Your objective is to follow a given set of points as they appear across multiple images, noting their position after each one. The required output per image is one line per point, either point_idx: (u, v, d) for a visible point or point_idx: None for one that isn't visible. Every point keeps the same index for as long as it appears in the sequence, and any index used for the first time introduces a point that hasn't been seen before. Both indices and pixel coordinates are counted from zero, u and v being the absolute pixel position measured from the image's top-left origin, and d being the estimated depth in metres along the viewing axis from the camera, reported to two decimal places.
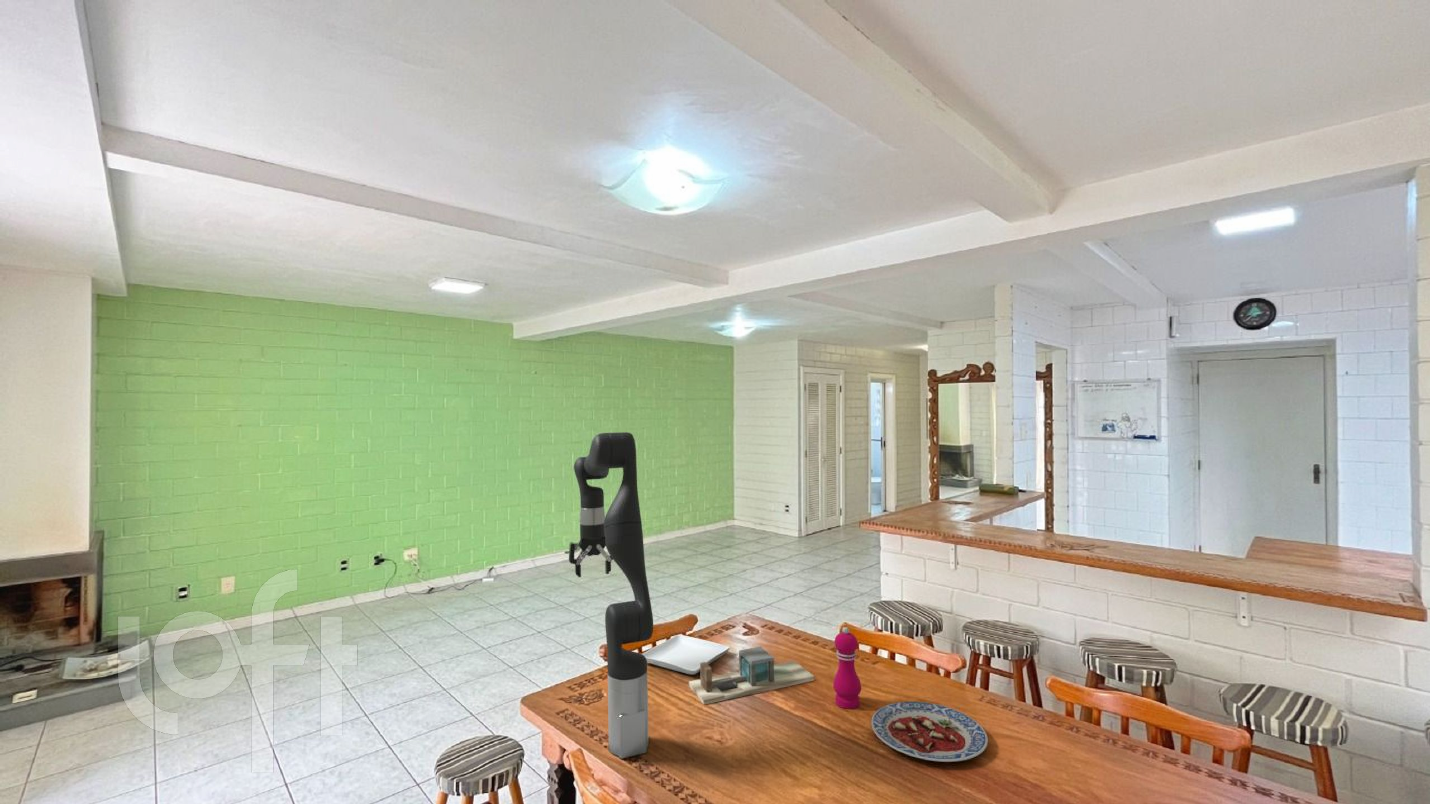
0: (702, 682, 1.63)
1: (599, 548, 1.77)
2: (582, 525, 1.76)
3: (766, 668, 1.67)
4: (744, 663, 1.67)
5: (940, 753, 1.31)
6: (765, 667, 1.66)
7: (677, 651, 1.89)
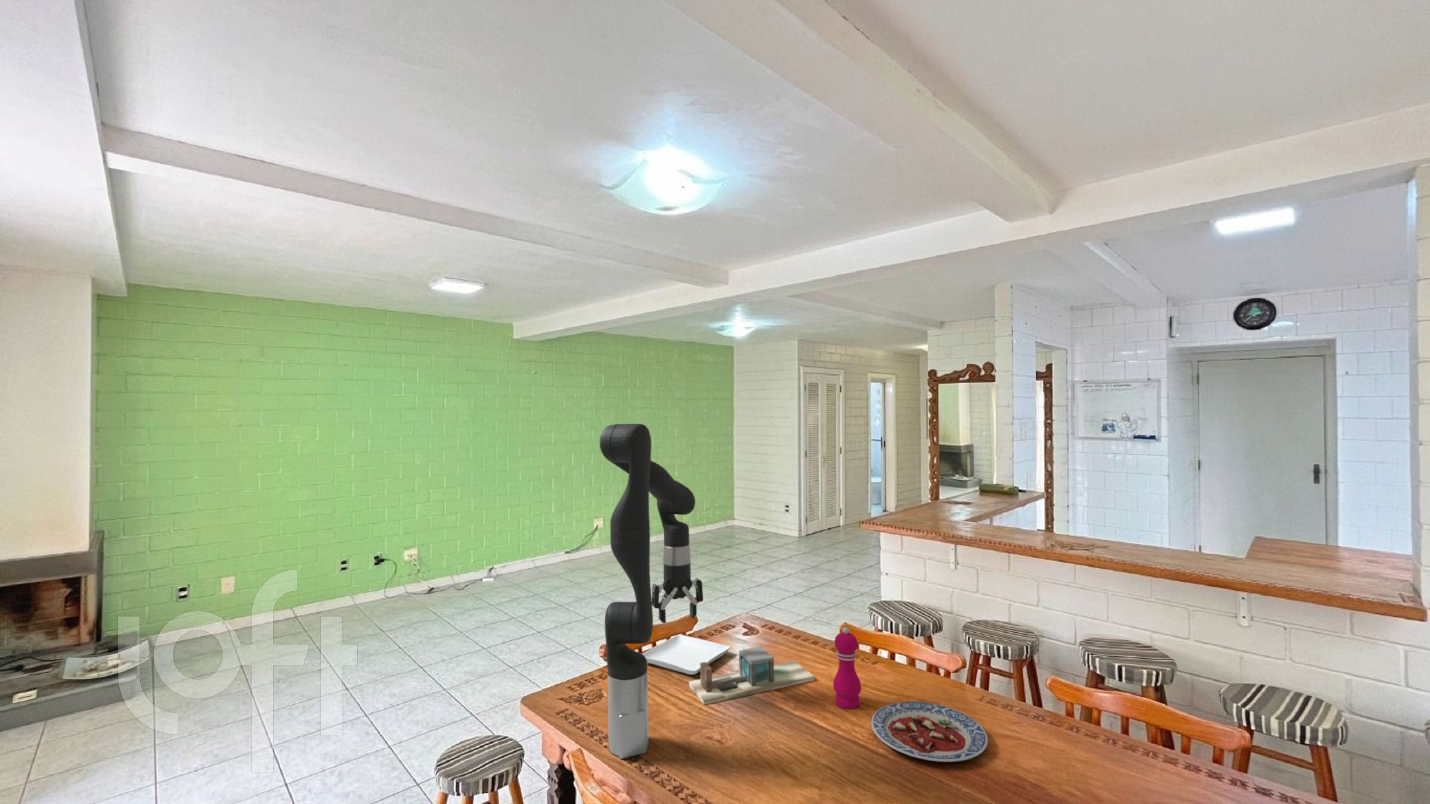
0: (702, 682, 1.63)
1: (685, 590, 1.61)
2: (667, 565, 1.59)
3: (766, 668, 1.67)
4: (744, 663, 1.67)
5: (940, 753, 1.31)
6: (765, 667, 1.66)
7: (677, 651, 1.89)
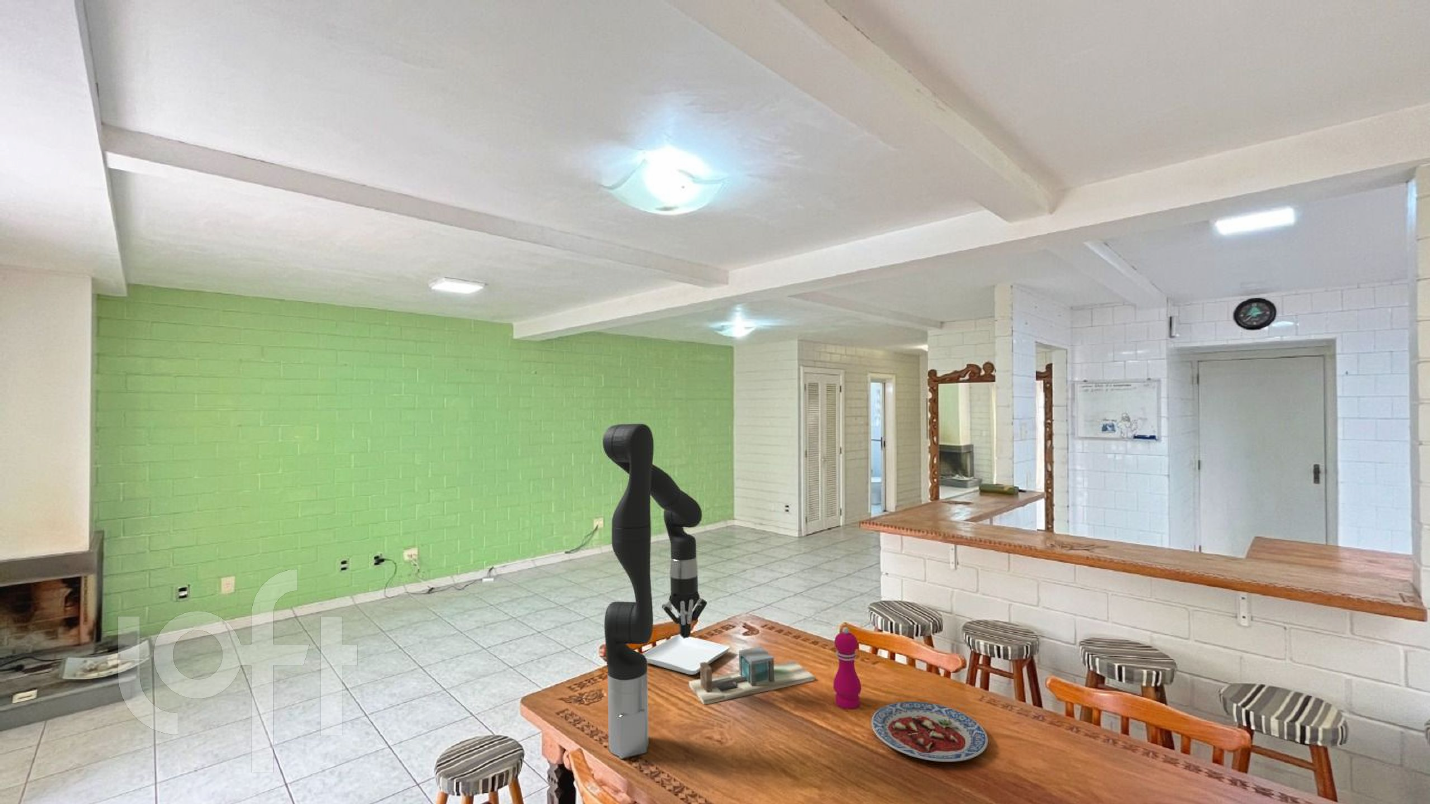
0: (702, 682, 1.63)
1: (690, 604, 1.59)
2: (674, 578, 1.58)
3: (766, 668, 1.67)
4: (744, 663, 1.67)
5: (940, 753, 1.31)
6: (765, 667, 1.66)
7: (677, 651, 1.89)
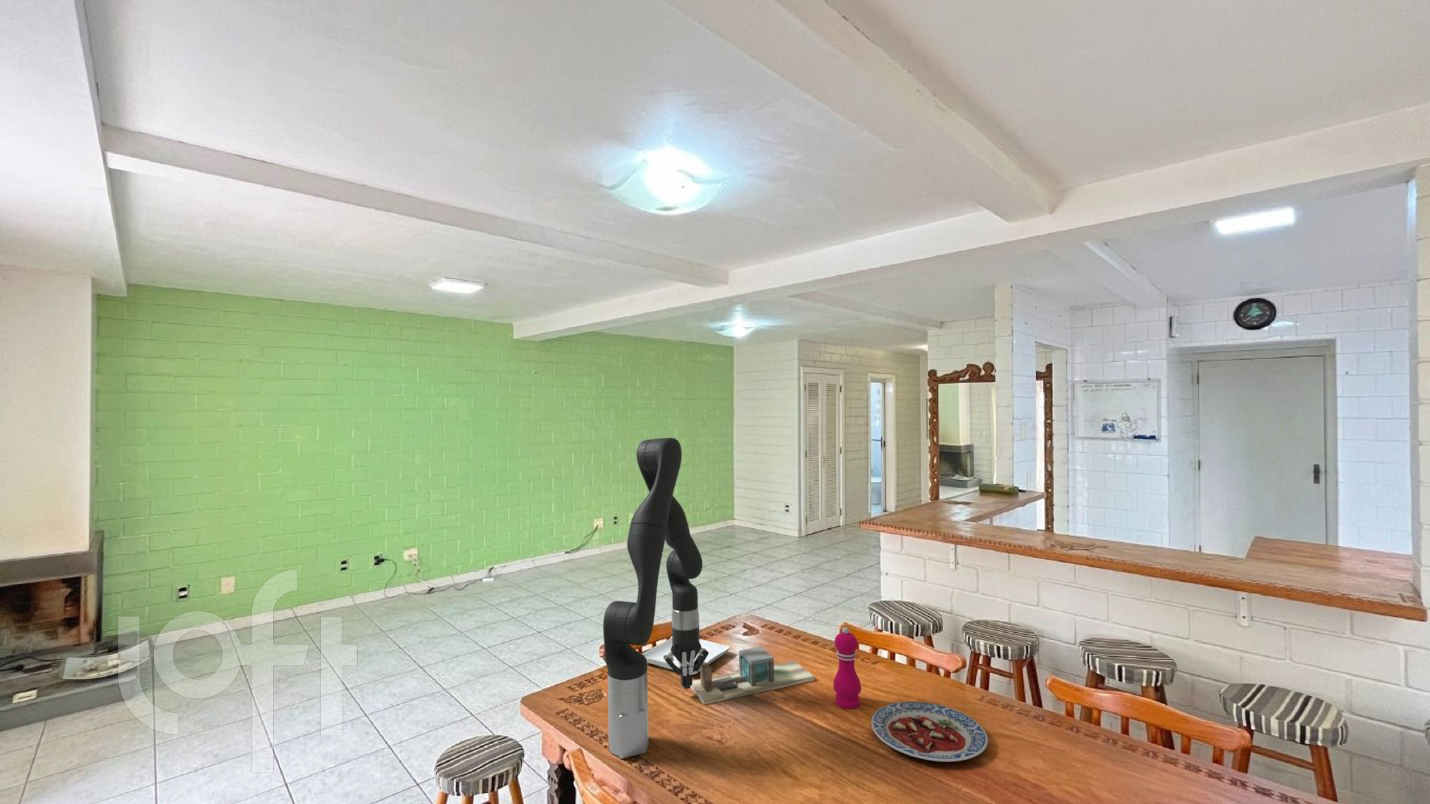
0: (702, 682, 1.63)
1: (692, 655, 1.59)
2: (676, 630, 1.58)
3: (766, 668, 1.67)
4: (744, 663, 1.67)
5: (940, 753, 1.31)
6: (765, 667, 1.66)
7: None
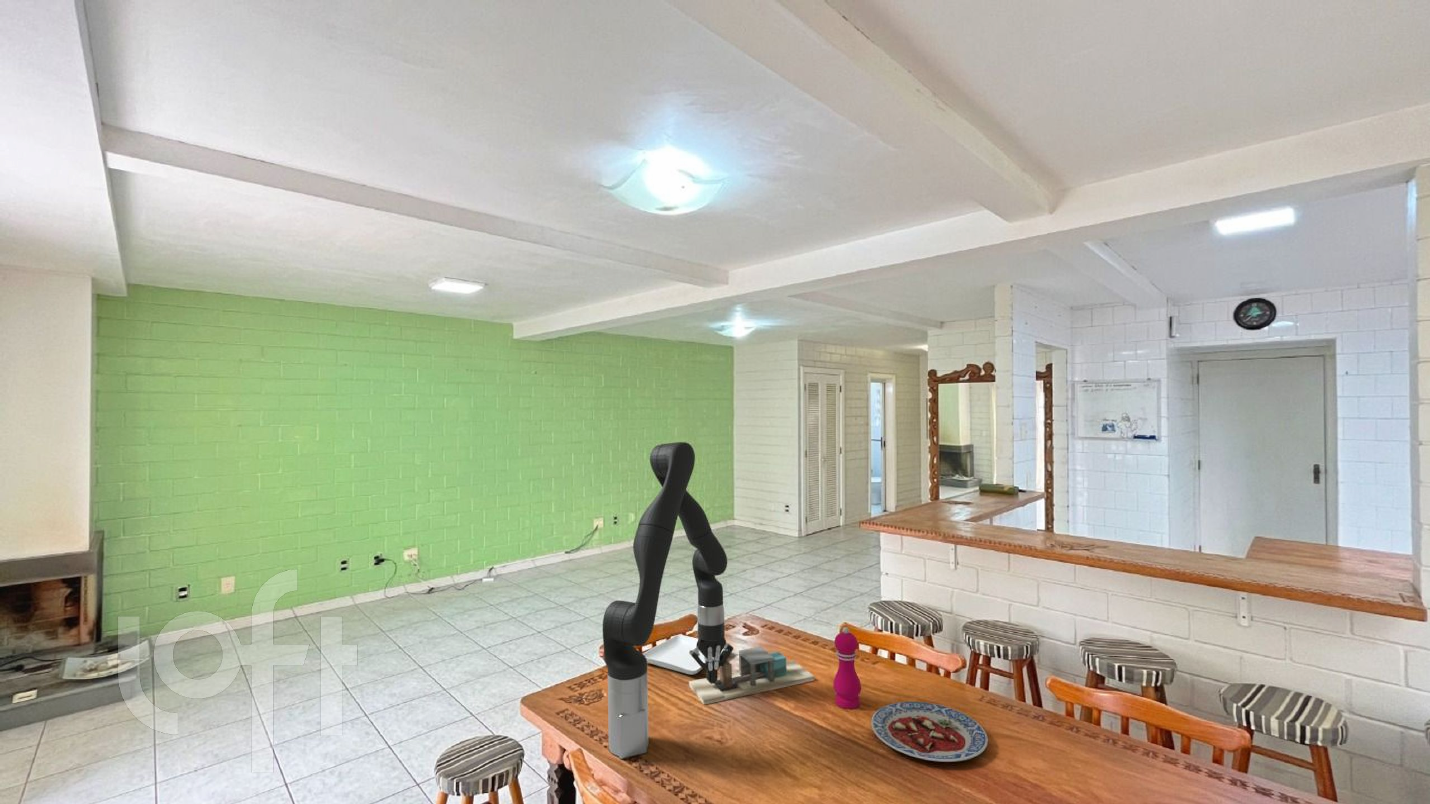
0: (722, 678, 1.65)
1: (717, 650, 1.62)
2: (702, 625, 1.60)
3: (784, 664, 1.69)
4: None
5: (940, 753, 1.31)
6: (784, 663, 1.69)
7: (677, 651, 1.89)
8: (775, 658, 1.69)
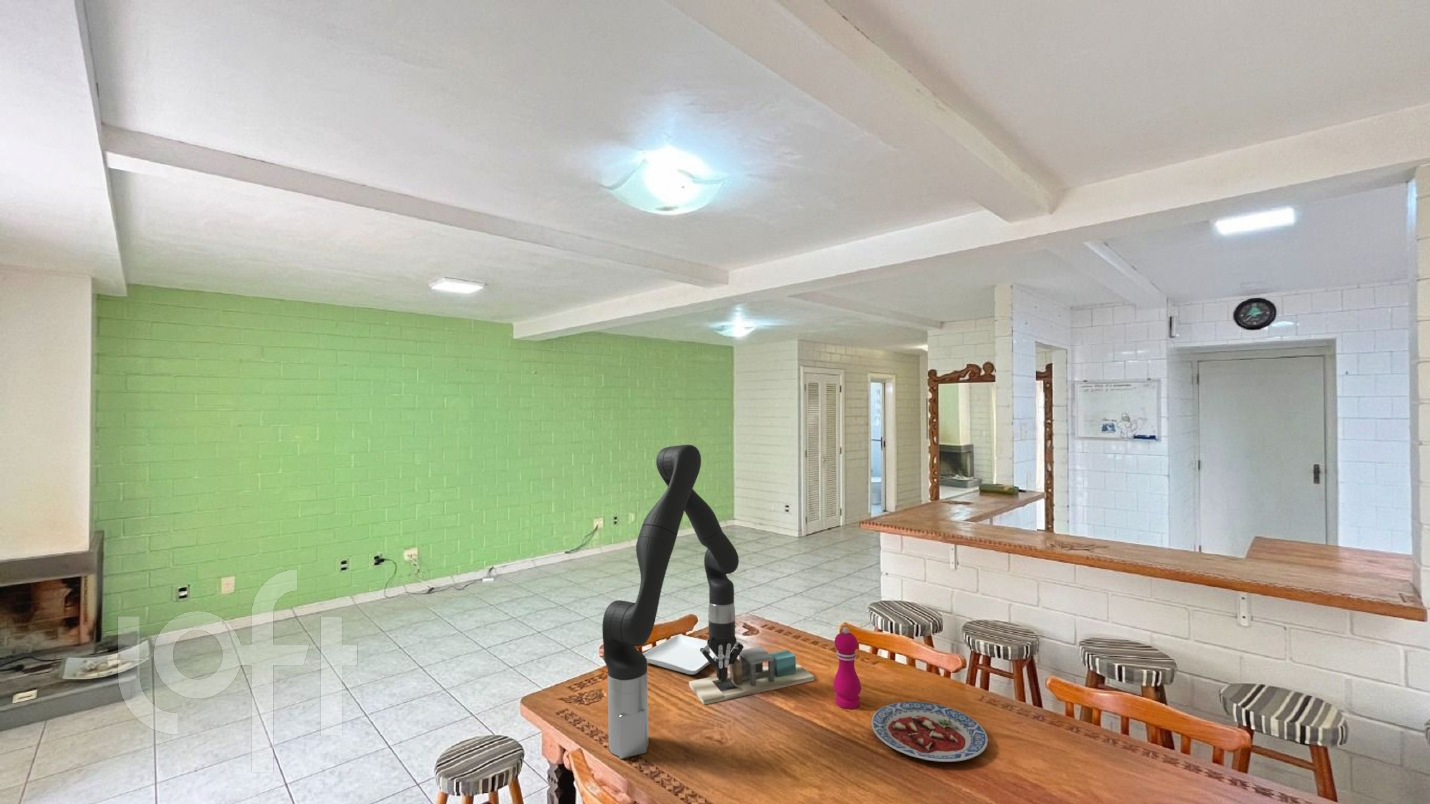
0: (732, 676, 1.66)
1: (728, 648, 1.63)
2: (713, 623, 1.62)
3: (794, 662, 1.70)
4: None
5: (940, 753, 1.31)
6: (793, 661, 1.70)
7: (677, 651, 1.89)
8: (784, 656, 1.70)
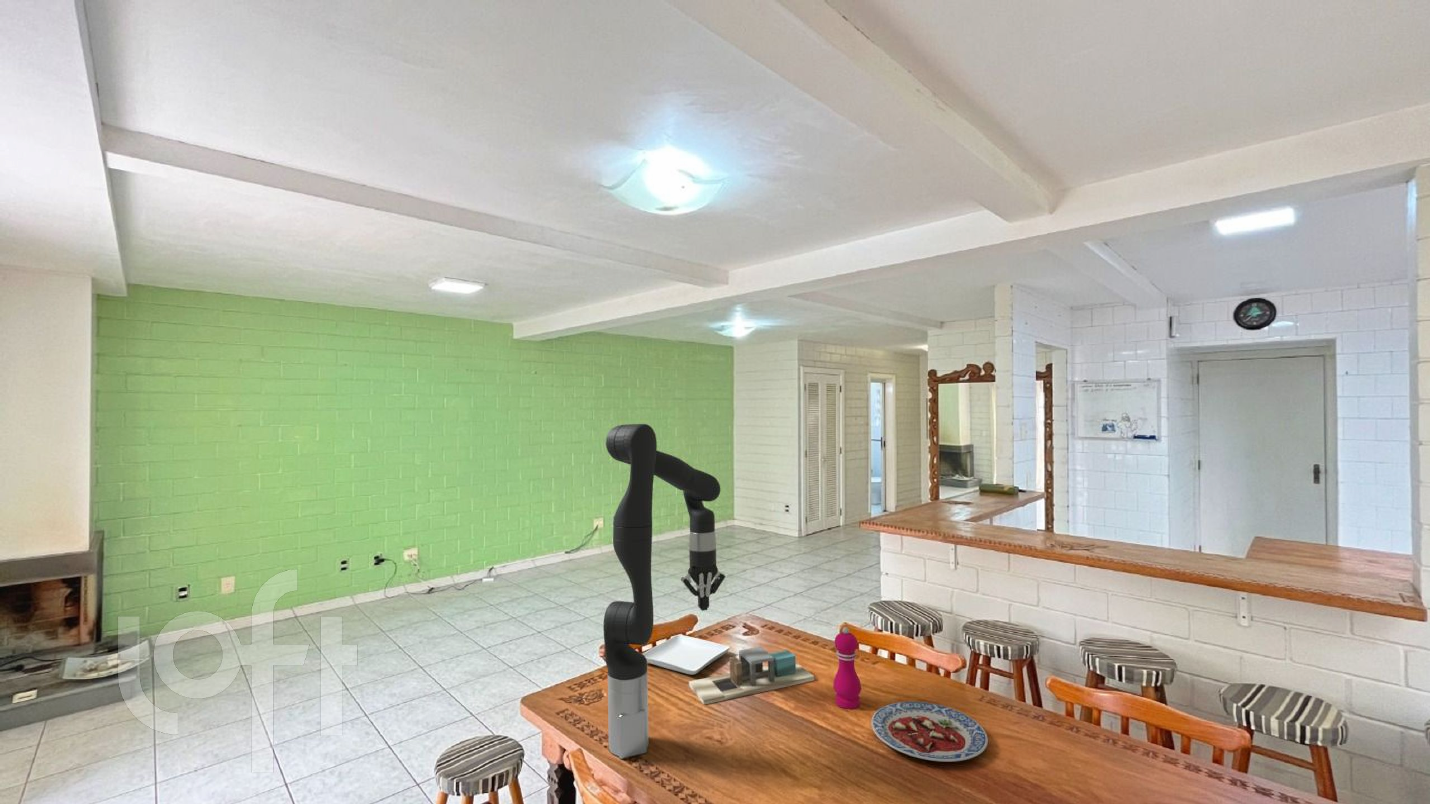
0: (732, 676, 1.66)
1: (709, 577, 1.62)
2: (693, 551, 1.61)
3: (794, 662, 1.70)
4: None
5: (940, 753, 1.31)
6: (793, 661, 1.70)
7: (677, 651, 1.89)
8: (784, 656, 1.70)
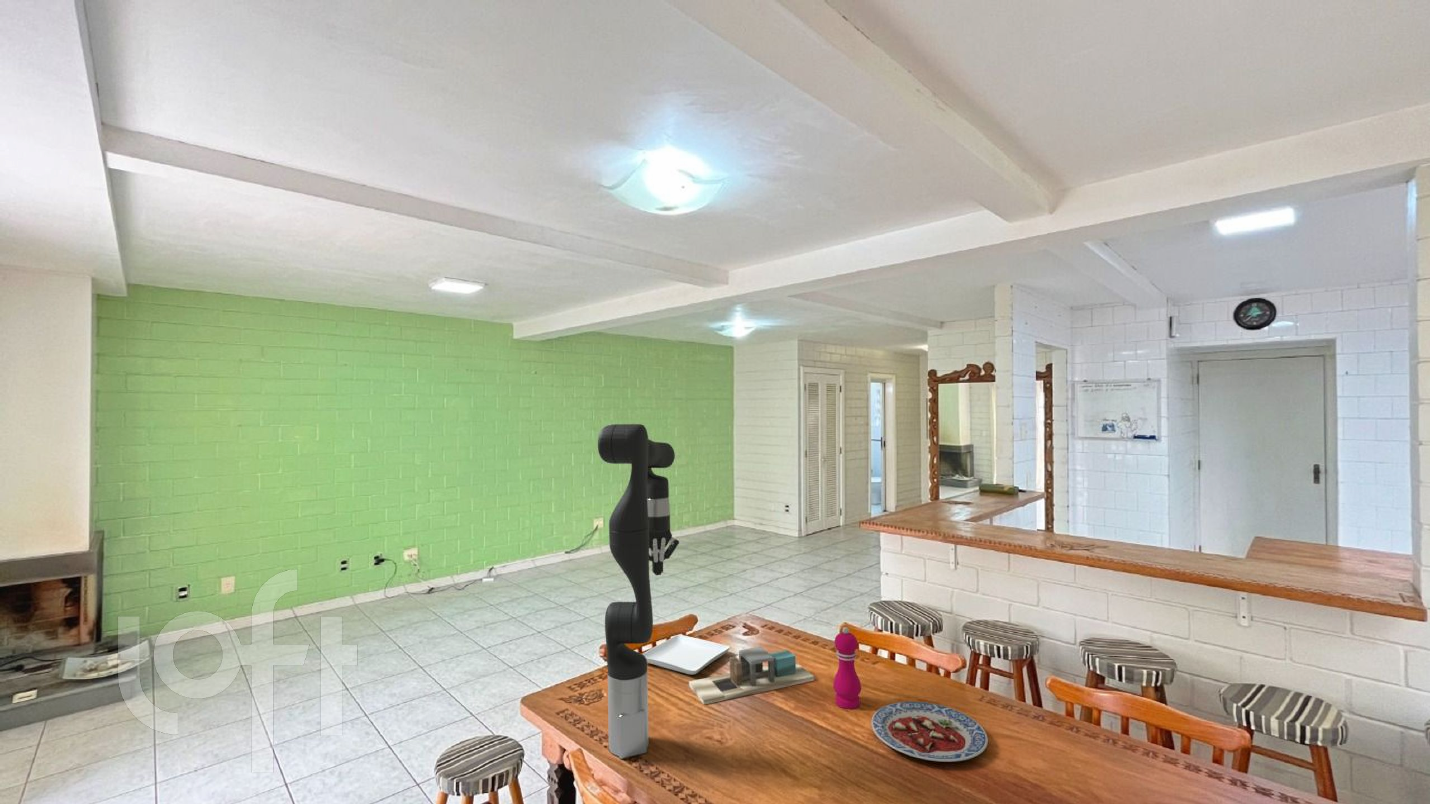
0: (732, 676, 1.66)
1: (662, 542, 1.65)
2: None
3: (794, 662, 1.70)
4: None
5: (940, 753, 1.31)
6: (793, 661, 1.70)
7: (677, 651, 1.89)
8: (784, 656, 1.70)
